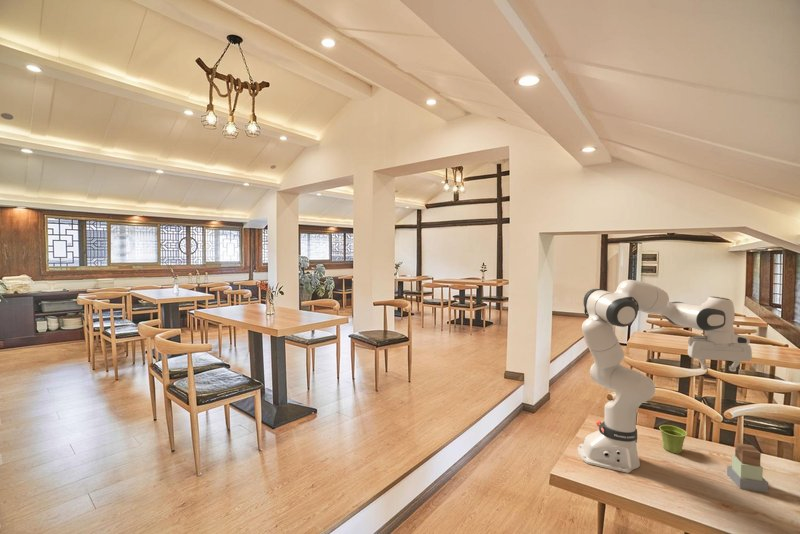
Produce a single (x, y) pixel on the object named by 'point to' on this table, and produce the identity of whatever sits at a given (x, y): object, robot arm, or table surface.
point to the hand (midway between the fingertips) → (718, 370)
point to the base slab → (747, 482)
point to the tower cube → (747, 470)
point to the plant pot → (672, 438)
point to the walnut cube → (747, 454)
